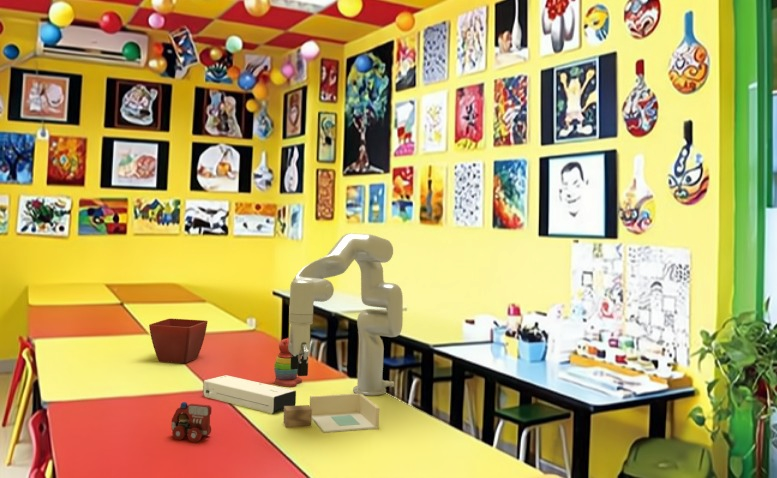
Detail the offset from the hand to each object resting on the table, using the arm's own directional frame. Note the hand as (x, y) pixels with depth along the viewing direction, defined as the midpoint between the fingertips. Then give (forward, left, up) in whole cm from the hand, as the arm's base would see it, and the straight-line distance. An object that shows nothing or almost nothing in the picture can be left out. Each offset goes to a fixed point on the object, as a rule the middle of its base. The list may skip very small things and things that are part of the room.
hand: (298, 372), depth 215 cm
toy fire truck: (+33, +5, -17) cm, 38 cm away
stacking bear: (-8, -52, -17) cm, 55 cm away
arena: (-15, +1, -17) cm, 22 cm away
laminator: (+11, -29, -17) cm, 36 cm away
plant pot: (+30, -102, -17) cm, 107 cm away
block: (0, 0, -17) cm, 17 cm away
